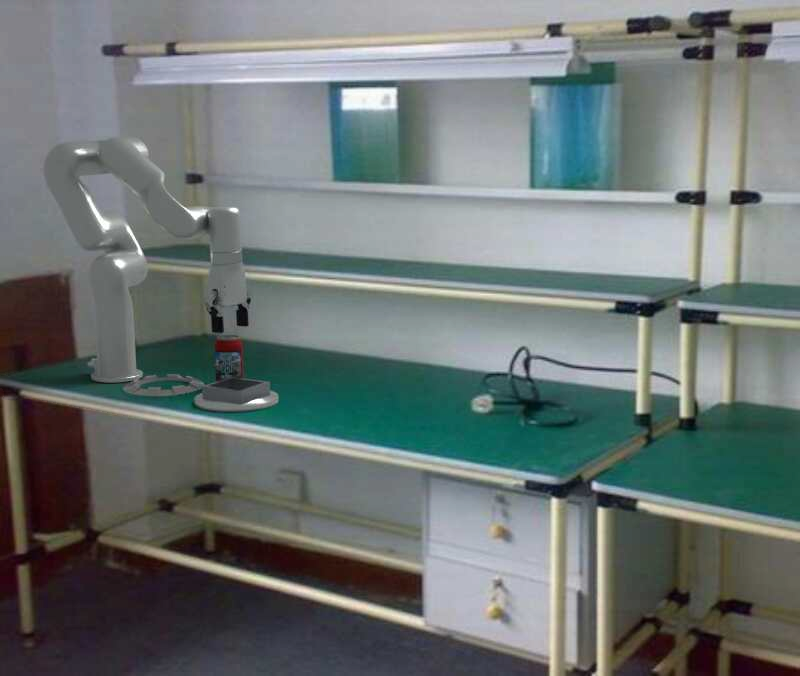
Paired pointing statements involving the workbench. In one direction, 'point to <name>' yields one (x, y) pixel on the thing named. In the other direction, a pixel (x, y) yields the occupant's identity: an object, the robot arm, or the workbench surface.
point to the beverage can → (228, 357)
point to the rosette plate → (236, 395)
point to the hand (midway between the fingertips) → (230, 329)
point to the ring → (156, 391)
